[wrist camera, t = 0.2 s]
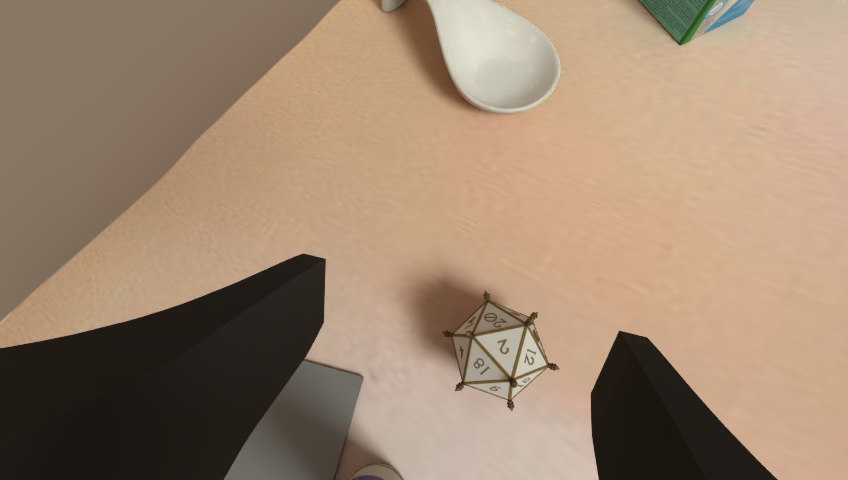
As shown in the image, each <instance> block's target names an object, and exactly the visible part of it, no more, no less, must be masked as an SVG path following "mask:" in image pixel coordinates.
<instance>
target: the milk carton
mask: <svg viewBox="0 0 848 480" xmlns="http://www.w3.org/2000/svg"><path fill="white" fill-rule="evenodd" d="M639 1H640V2H641V3H642V4H643V5H644V6H645V7H646V8H647V9H648V10H649V11H650V13H651V14H652V15H653V16H654V17H655V18H656V19H657V20H658V21H659V22H660V23H661V24H662V25H663V26H664V28H665V29H666V30H667V31H668V32H669V33H670V34H671V35H672V36H673V37H674V38H675V39H676V40H677V42H678V43H679V44H680V45H682V44H684V43H686V42H689V41H691V40H693V39H695V38H697V37H699V36H701V35H703V34H705V33H707V32H709V31H711V30H713V29H715V28H717V27H719V26H721V25H723V24H725V23H727V22H729V21H731V20H733V19H735V18H737V17H739V16H741V15H743V14H744V13H745V12H746V10H747V9H748V8H749V7H750V5H751V4H752V3H753V2H754V0H639Z"/></svg>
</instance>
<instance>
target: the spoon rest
mask: <svg viewBox="0 0 848 480" xmlns="http://www.w3.org/2000/svg"><path fill="white" fill-rule="evenodd" d="M405 1H406V0H382V10H383V11H384V12H389V11H392V10H394V9H396V8H397V7H399V6H400V5H401V4H402V3H404V2H405ZM426 2H427V3H428V6H429V8H430V10H431V13H432V16H433V19H434V22H435V26H436V31H437V35H438V39H439V44H440V47H441V51H442V55H443V58H444V62H445V64H446V67H447V70H448V72H449V75H450V77H451V79H452V81H453V83H454V85H455V87H456V88H457V90H458V91H459V92H460V94H461V95H462V96H463V97H464V98H465V99H466V100H467V101H468V102H469V103H470V104H472V105H473V106H475V107H477V108H479V109H481V110H483V111H486V112H490V113H494V114H502V115H510V114H518V113H522V112H525V111H528V110H530V109H532V108H534V107H536V106H538V105H539V104H541V103H542V102H543V101H545V100H546V99H547V98H548V97H549V96H550V95H551V93H552V92H553V90H554V89H555V87H556V85H557V83H558V80H559V77H560V72H561V66H560V60H559V56H558V53H557V51H556V49H555V47H554V46H553V44H552V42H551V41H550V40H549V39H548V37H547V36H546V35H545V34H544V33H543V32H542V31H541V30H540V29H538V28H537V27H536V26H535V25H533V24H532V23H531V22H529V21H528V20H526V19H525V18H523V17H521V16H520V15H518V14H516V13H514V12H513V11H511V10H509V9H507V8H505V7H504V6H502V5H500V4H498V3H497V2H495V1H493V0H426Z"/></svg>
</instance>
